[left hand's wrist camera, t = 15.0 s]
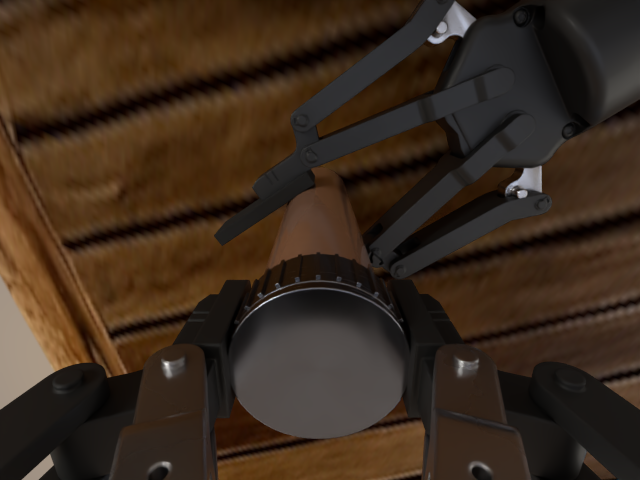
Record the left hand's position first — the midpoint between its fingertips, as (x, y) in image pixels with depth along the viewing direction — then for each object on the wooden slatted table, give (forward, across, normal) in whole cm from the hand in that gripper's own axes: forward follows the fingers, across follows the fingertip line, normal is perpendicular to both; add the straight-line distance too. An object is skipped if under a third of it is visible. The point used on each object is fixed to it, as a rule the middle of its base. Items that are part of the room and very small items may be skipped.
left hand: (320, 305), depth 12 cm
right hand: (+10, -4, -3) cm, 12 cm away
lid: (-3, 0, 0) cm, 3 cm away
